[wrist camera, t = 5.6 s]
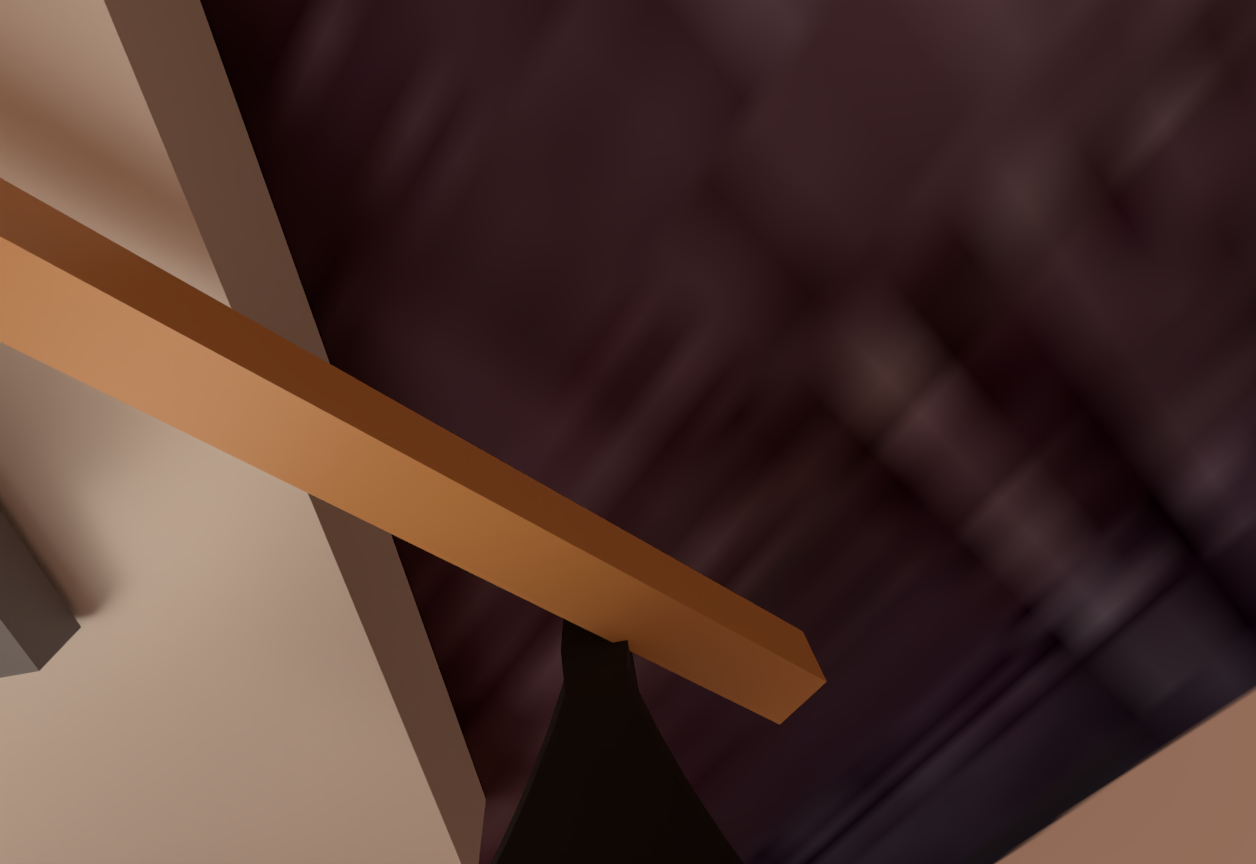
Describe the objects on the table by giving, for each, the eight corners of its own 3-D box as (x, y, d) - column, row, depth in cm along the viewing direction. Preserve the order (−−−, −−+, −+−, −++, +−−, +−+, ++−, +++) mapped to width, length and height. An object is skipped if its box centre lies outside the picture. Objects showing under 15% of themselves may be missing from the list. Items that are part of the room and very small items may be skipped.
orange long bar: (804, 585, 10) (867, 704, 8) (734, 655, 11) (775, 784, 9) (-641, -282, 5) (-1503, -572, 3) (-641, -63, 6) (-1372, -175, 4)
